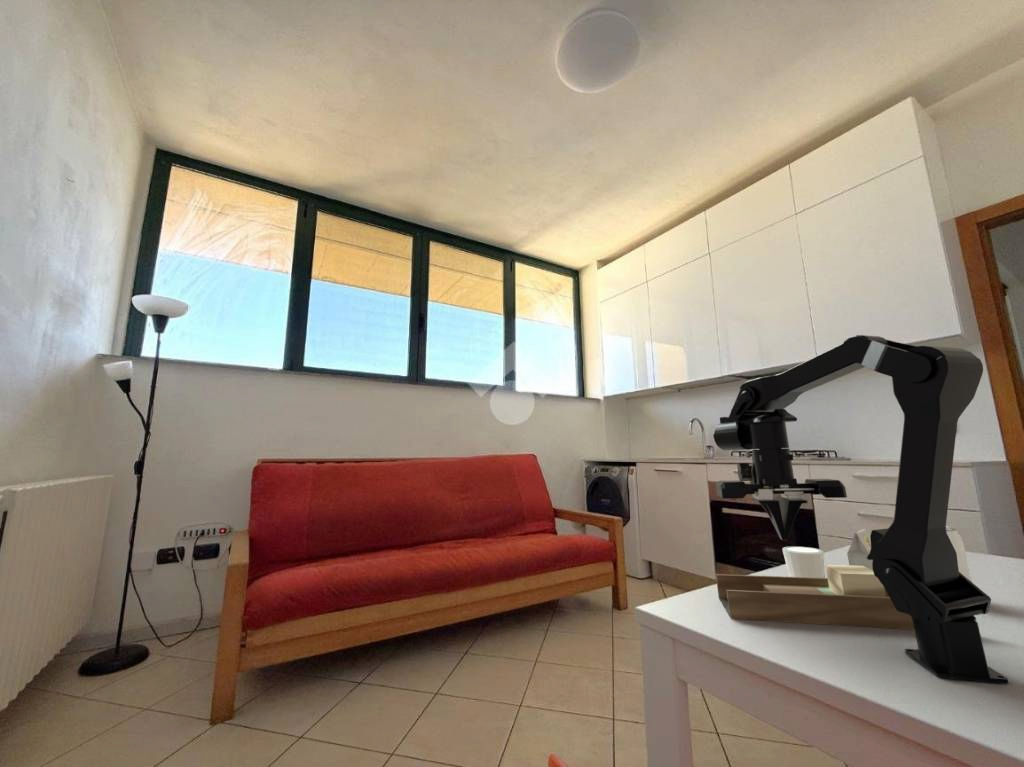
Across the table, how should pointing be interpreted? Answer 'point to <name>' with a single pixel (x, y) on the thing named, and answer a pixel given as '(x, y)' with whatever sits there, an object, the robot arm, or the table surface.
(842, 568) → the maple block
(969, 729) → the table surface
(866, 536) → the white gable top carton
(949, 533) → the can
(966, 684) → the table surface
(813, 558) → the white cup
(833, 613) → the tray
